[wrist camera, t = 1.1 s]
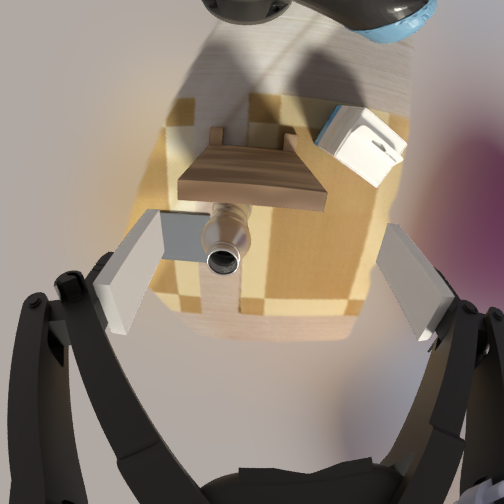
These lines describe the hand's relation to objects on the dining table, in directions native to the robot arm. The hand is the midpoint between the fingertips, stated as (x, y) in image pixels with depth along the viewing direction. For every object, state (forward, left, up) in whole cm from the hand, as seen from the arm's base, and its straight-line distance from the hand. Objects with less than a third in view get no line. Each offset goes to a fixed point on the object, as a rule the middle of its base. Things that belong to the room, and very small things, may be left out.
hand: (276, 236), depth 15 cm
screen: (+2, -1, -33) cm, 33 cm away
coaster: (+18, -13, -33) cm, 40 cm away
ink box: (-4, +14, -33) cm, 36 cm away
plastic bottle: (+10, -4, -33) cm, 35 cm away
